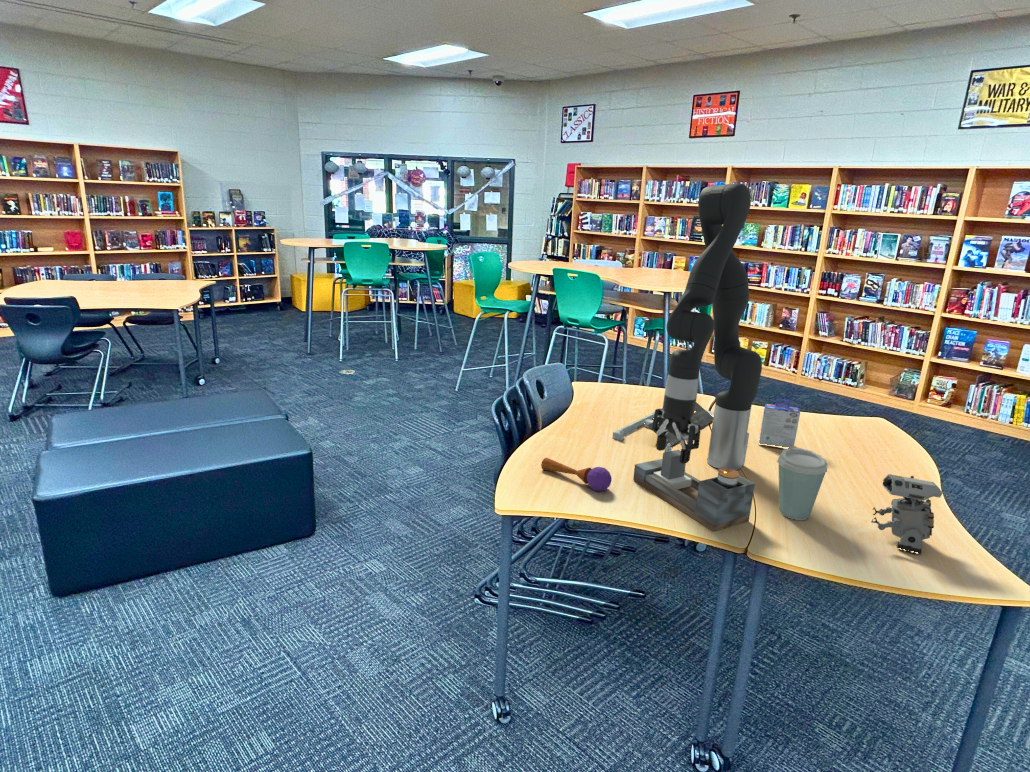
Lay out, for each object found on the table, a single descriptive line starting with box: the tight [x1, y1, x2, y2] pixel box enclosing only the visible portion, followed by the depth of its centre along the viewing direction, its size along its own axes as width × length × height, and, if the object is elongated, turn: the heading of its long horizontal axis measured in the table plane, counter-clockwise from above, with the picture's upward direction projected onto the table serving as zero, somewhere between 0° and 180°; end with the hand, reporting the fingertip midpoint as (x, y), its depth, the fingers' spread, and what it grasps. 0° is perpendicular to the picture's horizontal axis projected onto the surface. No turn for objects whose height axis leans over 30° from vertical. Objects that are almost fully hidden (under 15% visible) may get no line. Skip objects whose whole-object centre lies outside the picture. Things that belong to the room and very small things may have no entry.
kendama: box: [540, 457, 612, 492], centre depth 157 cm, size 6×6×20 cm
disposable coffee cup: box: [776, 447, 828, 521], centre depth 142 cm, size 11×11×15 cm
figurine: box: [871, 473, 943, 554], centre depth 132 cm, size 9×12×15 cm
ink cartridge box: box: [758, 397, 801, 448], centre depth 185 cm, size 10×6×14 cm, turn 70°
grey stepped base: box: [632, 458, 756, 532], centre depth 148 cm, size 11×28×10 cm, turn 28°
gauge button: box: [717, 468, 740, 489], centre depth 137 cm, size 4×4×4 cm
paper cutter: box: [612, 401, 714, 452], centre depth 198 cm, size 18×45×6 cm, turn 140°
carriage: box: [653, 449, 692, 489], centre depth 153 cm, size 6×7×8 cm
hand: (671, 456), depth 152 cm, fingers open, 8 cm apart
